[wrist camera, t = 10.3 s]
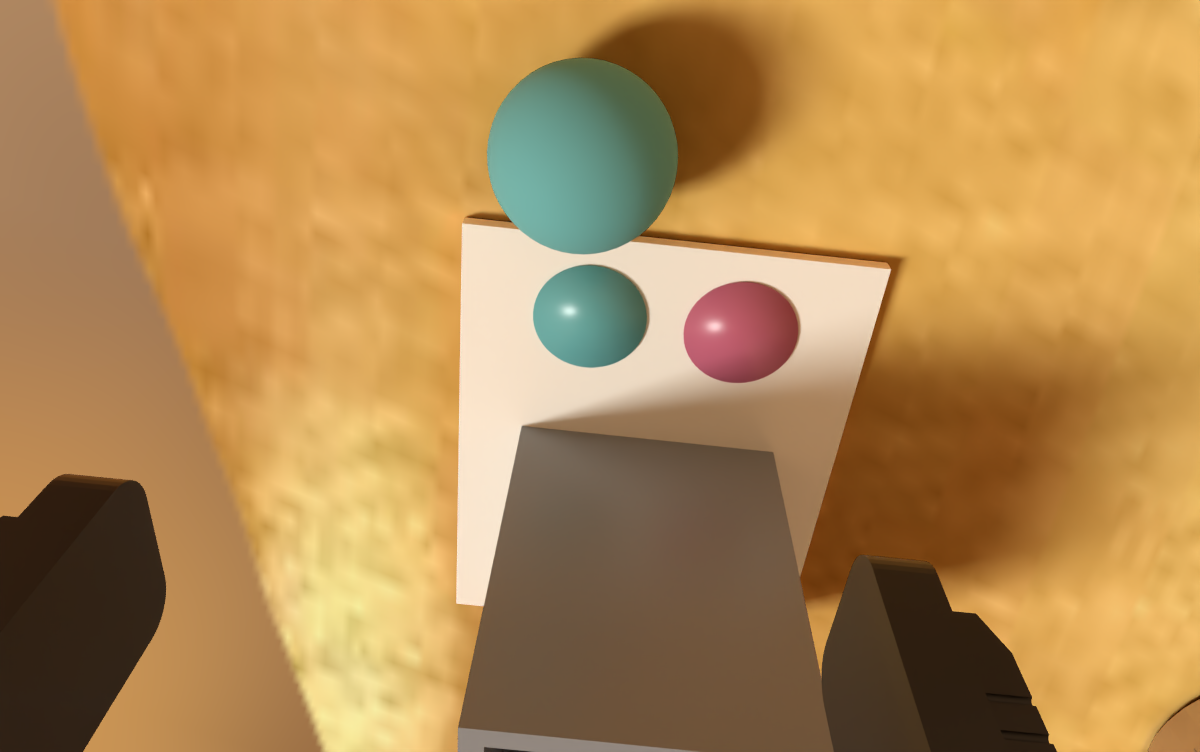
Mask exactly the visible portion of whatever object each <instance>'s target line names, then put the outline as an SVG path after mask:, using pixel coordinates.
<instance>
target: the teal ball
mask: <svg viewBox="0 0 1200 752" xmlns="http://www.w3.org/2000/svg"><path fill="white" fill-rule="evenodd" d="M487 161H488V170H489V176H490V181H491V184H492V188H493V191H494V193H495V196H496V198H497V200H498V202H499V204H500V205H501V207H502V209H503V210H504V212H505V213H506V215H507V216H508V217H509V219H510V220H511V221H512V222H513V224H514V225H516V226H517V227H518V228H519V229H520V230H521V231H522V232H523V233H524V234H526V235H527V236H528V237H530V238H531V239H533V240H534V241H536V242H538V243H539V244H541V245H543V246H546V247H548V248H550V249H553V250H557V251H560V252H565V253H571V254H596V253H601V252H606V251H610V250H613V249H616V248H618V247H620V246H622V245H624V244H627V243H628V242H630V241H632V240H633V239H635V238H636V237H638V236H639V235H640V234H642V233H643V232H644V231H645V230H646V229H648V228H649V227H650V225H651V224H652V223H653V222H654V221H655V220H656V219H657V217H658V216H659V214H660V213H661V212H662V210H663V209H664V207H665V205H666V203H667V201H668V199H669V197H670V195H671V192H672V189H673V187H674V183H675V179H676V174H677V165H678V145H677V139H676V134H675V130H674V127H673V124H672V121H671V118H670V116H669V114H668V112H667V110H666V108H665V106H664V104H663V103H662V101H661V100H660V98H659V97H658V95H657V94H656V93H655V92H654V91H653V90H652V88H651V87H650V86H649V85H648V84H647V83H645V82H644V81H643V80H642V79H641V78H640V77H638V76H637V75H635V74H634V73H632V72H631V71H629V70H627V69H625V68H623V67H621V66H619V65H617V64H614V63H611V62H608V61H604V60H599V59H593V58H573V59H565V60H561V61H556V62H553V63H550V64H548V65H545V66H543V67H541V68H539V69H537V70H535V71H534V72H532V73H530V74H529V75H528V76H526V77H525V78H524V79H522V80H521V81H520V82H519V83H518V84H517V85H516V86H515V87H514V88H513V89H512V90H511V91H510V93H509V94H508V95H507V97H506V98H505V99H504V101H503V102H502V104H501V106H500V108H499V109H498V111H497V113H496V116H495V118H494V121H493V124H492V127H491V131H490V135H489V139H488V149H487Z"/></svg>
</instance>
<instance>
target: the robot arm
mask: <svg viewBox="0 0 1200 752" xmlns="http://www.w3.org/2000/svg"><path fill="white" fill-rule="evenodd" d="M165 597H166V582H165V575H164V571H163V567H162V562H161V558H160V554H159V549H158V545H157V541H156V536H155V532H154V528H153V523H152V519H151V515H150V510H149V506H148V501H147V497H146V494H145V491H144V489H143V487H142V486H141V485H140V484H139V483H138V482H136V481H133V480H123V479H113V478H103V477H92V476H83V475H72V474H64V475H61V476H58V477H57V478H55V479H54V480H52V481H51V482H50V483H49V484H48V485H47V486H46V488H44V489H43V490H42V492H41V493H40V494H39V495H38V496H37V497H36V498H35V499H34V500H33V501H32V502H31V504H30V505H29V506H28V507H27V508H26V509H25V510H24V511H23V512H22V513H21V514H20V516H19V517H10V516H2V517H0V752H83V751H84V749H85V747H86V746H87V744H88V742H89V741H90V739H91V737H92V736H93V734H94V733H95V731H96V729H97V728H98V726H99V724H100V723H101V721H102V720H103V718H104V716H105V715H106V713H107V711H108V710H109V708H110V706H111V705H112V703H113V702H114V700H115V698H116V696H117V695H118V693H119V692H120V690H121V689H122V687H123V685H124V684H125V682H126V680H127V679H128V677H129V675H130V674H131V672H132V671H133V669H134V667H135V666H136V664H137V662H138V661H139V659H140V657H141V656H142V654H143V652H144V651H145V649H146V648H147V646H148V644H149V643H150V641H151V640H152V638H153V636H154V634H155V632H156V630H157V628H158V625H159V622H160V620H161V617H162V613H163V609H164V604H165ZM822 695H823V702H824V708H825V712H826V717H827V722H828V727H829V731H830V736H831V741H832V745H833V750H834V752H1057V751H1056V749H1055V747H1054V745H1053V744H1049V741H1048V736H1049V734H1048V731H1047V729H1046V727H1045V725H1044V723H1043V720H1042V718H1041V716H1040V714H1039V712H1038V709H1037V707H1036V706H1032V703H1031V699H1032V696H1031V694H1030V692H1029V690H1028V687H1027V685H1026V683H1025V681H1024V679H1023V677H1022V674H1021V672H1020V670H1019V668H1018V666H1017V663H1016V661H1015V659H1014V657H1013V655H1012V653H1011V652H1010V651H1009V649H1008V648H1007V647H1006V646H1005V645H1004V644H1003V643H1002V642H1001V641H1000V640H999V638H998V637H997V636H996V635H995V634H994V633H993V632H992V631H991V630H990V629H989V627H988V626H987V625H986V624H985V623H984V622H983V621H982V620H981V619H980V618H979V616H978V615H977V614H974V613H964V612H954V611H952V609H951V607H950V604H949V602H948V599H947V597H946V595H945V592H944V590H943V587H942V585H941V582H940V580H939V577H938V575H937V573H936V571H935V569H934V567H933V566H932V565H931V564H930V563H929V562H927V561H919V560H909V559H899V558H889V557H879V556H869V555H860V556H858V557H857V558H856V560H855V561H854V563H853V565H852V568H851V571H850V574H849V577H848V580H847V583H846V586H845V589H844V592H843V595H842V598H841V601H840V604H839V607H838V610H837V613H836V616H835V619H834V622H833V624H832V627H831V630H830V633H829V636H828V639H827V642H826V646H825V650H824V655H823V662H822ZM1148 752H1200V699H1199V700H1197V701H1195V702H1194V703H1192V704H1190V705H1189V706H1187V707H1185V708H1184V709H1182V710H1181V711H1180V712H1179V713H1177V714H1176V715H1175V716H1174V717H1172V718H1171V719H1170V720H1169V721H1167V723H1166V724H1165V725H1164V726H1163V727H1162V728H1161V730H1160V731H1159V732H1158V733H1157V734H1156V735H1155V737H1154V739H1153V741H1152V743H1151V745H1150V747H1149V749H1148Z"/></svg>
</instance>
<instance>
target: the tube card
mask: <svg viewBox="0 0 1200 752" xmlns="http://www.w3.org/2000/svg"><path fill="white" fill-rule="evenodd" d="M890 272H891V268H890V267H889V265H888V263H886V262H876V261H867V260H858V259H848V258H839V257H830V256H821V255H811V254H802V253H793V252H783V251H774V250H765V249H755V248H746V247H737V246H728V245H718V244H709V243H700V242H690V241H681V240H672V239H662V238H653V237H644V236H638V237H636V238H635V239H633V240H632V241H630V242H628V243H627V244H624V245H622V246H620V247H618V248H616V249H613V250H610V251H606V252H601V253H596V254H571V253H565V252H560V251H557V250H553V249H550V248H548V247H546V246H543V245H541V244H539V243H538V242H536V241H534V240H533V239H531V238H530V237H528V236H527V235H526V234H524V233H523V232H522V231H521V230H520V229H519V228H518V227H517V226H516V225H514V224H513V222H504V221H495V220H486V219H476V218H467V217H465V218H464V221H463V223H462V267H461V333H460V399H459V465H458V531H457V597H456V603H458V604H467V605H477V606H484V607H483V612H482V617H481V622H480V626H479V631H478V636H477V641H476V645H475V650H474V655H473V660H472V664H471V669H470V674H469V679H468V683H467V688H466V693H465V698H464V702H463V707H462V712H461V717H460V722H459V726H458V752H834V750H833V745H832V741H831V736H830V731H829V727H828V722H827V717H826V712H825V708H824V702H823V695H822V680H821V675H820V670H819V665H818V661H817V656H816V651H815V647H814V642H813V637H812V632H811V628H810V623H809V618H808V614H807V609H806V604H805V599H804V595H803V590H802V585H801V581H800V576H801V572H802V569H803V566H804V562H805V559H806V555H807V552H808V549H809V545H810V542H811V539H812V535H813V532H814V528H815V525H816V522H817V518H818V515H819V512H820V508H821V505H822V501H823V498H824V495H825V491H826V488H827V484H828V481H829V478H830V474H831V471H832V468H833V464H834V461H835V457H836V454H837V451H838V447H839V444H840V441H841V437H842V434H843V430H844V427H845V424H846V420H847V417H848V414H849V410H850V407H851V403H852V400H853V397H854V393H855V390H856V386H857V383H858V380H859V376H860V373H861V370H862V366H863V363H864V359H865V356H866V353H867V349H868V346H869V343H870V339H871V336H872V332H873V329H874V326H875V322H876V319H877V316H878V312H879V309H880V305H881V302H882V299H883V295H884V292H885V288H886V285H887V282H888V278H889V275H890Z"/></svg>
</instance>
